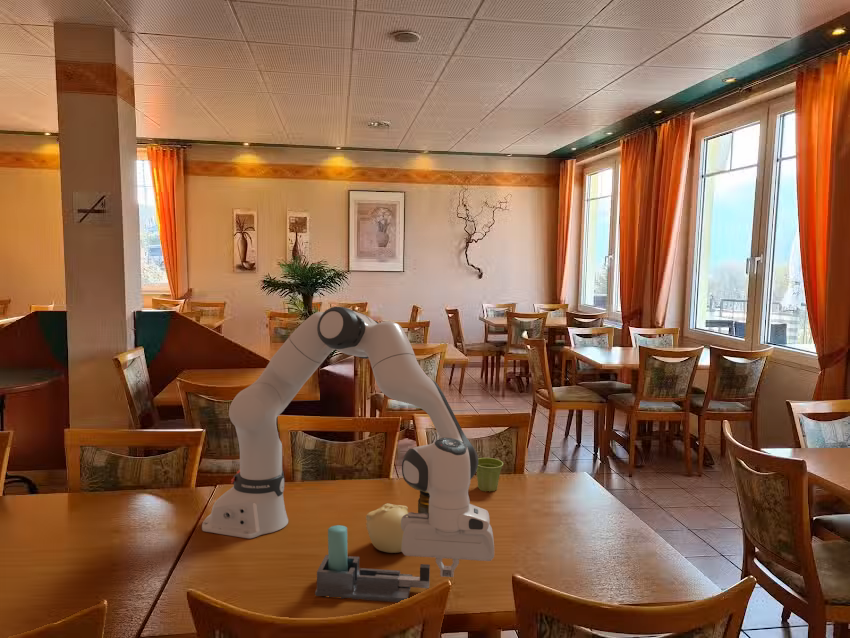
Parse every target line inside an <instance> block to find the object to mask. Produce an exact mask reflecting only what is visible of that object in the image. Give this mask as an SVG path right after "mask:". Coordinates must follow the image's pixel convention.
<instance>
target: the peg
mask: <svg viewBox="0 0 850 638" xmlns="http://www.w3.org/2000/svg"><path fill="white" fill-rule="evenodd" d="M327 547H328V548H327V549H328V552H327V553H328V554H327V555H328V569H329V570H333V571H348V561H347V556H348V527H347V526H345V525H342V524H341V525H339V524H337V525H331V526H330V527H328V529H327Z"/></svg>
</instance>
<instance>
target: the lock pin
mask: <svg viewBox="0 0 850 638" xmlns="http://www.w3.org/2000/svg"><path fill="white" fill-rule="evenodd" d="M430 566H431V565H430V564H426V563H425V564H424V563H421V564H420V566H419V576H413V575H412V576H396V575H381V574H376V575H375V576H383V577H398V586H401V587H411V588H415V589H416V588H417V589H429V588H430V570H431V569H430V568H431V567H430Z"/></svg>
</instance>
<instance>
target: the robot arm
mask: <svg viewBox="0 0 850 638" xmlns="http://www.w3.org/2000/svg"><path fill="white" fill-rule="evenodd" d="M333 351H338V352H339V353H342V354H344V355H347V356H354V357H357V358H360V359H364V360H367V359H368V360H369V362H370V367H371V370H372V373H373V377H374V380H375V382H376V385H377V387H378V389H379V390H380V392H381V393H382V394H383V395H385V396H386V397H387V398H389V399H391V400H394V401H396V402H401V403H404V404H405V403H406V404H409V405H412V406H415V407H417V408H419V409H421V410H422V411H424V412H425V413H426V414H427V415H428V416H429V418H430V420H431V422H432V424H433V426H434V428H435V430H436V432H437V434H438V436H439V438H438V439H436V440H434V441H433V443H429V444H424V445H419V446H415V447H412V448H409V449H407V451H406V452H405V453H404V456H403V458H402V462H401V474H402V477H403V480H404V482H406V484H407V485H408V486H409V487H411V488H412V489H414V490H416V491H419V492H420V491H427V492H428V493H429V495H430V498H429V513H418V512H413V511H411V512H410V511H408V514H406V515H404V516H403V517H402V519H401V528H402V530H403V531H404V534H403V539H402V548H401V551H402V552H401V553H402V554H403V555H404V556H407V557H418V558H419V557H420V558H422V557H423V558H435V563H436V565H437V567H438V569H439V570H440V572H439V573H440V577H447V578H454V575H455V571H456V569H457V567H458V566H459V564H460V560H468V561H480V562H481V561H485V562H491V561H492V560H493V559H494V558H495V542H494V533H493V528H492V525H491V524H490V523H491V522H490V514H489V511H488V509H485V508H482V507H479V506H476V505H475V504H471V503H470V501H471V500H470V496H469V489H470V486H471V480H472V479H473V478H474V476H475V474H476V473H477V471H476V470H477V467H478V459H479V456H478V452H477V451H476V449H475V447H474V446H473V444H472V443H471V441H470V440H469V439H468V437H467V436H466V434H465V433H464V431H463V429H462V427H461V425H460V423H459V421H458V420H457V417H456V415H455V413H454V411H453V410H452V408H451V406H450V404H449V402H448V400H447V398H446V396H445V394H444V392H443V391H442V389H441V388H440V386H439V384H438V383H437V382H436V381H435V380H433V379H431V377H429V376H428V375H427V374H426V373H425V371H424V370H423V369H422V367H421V365H420V364H419V362H418V360H417V357H416V354H415V351H414V349H413V347H412V344H411V342H410V340H409V337H408V336H407V334H406V332H405V330H404V329H403V327H402V326H401V325H400V324H399V323H397V322H395V321H390V320H386V321H381V322H378V321H377V320H375V319H373V318H371V317H370V316H368V315H366V314H364V313H361V312H357V311H355V310H352V309H351V308H348V307H344V306H343V307H342V306H333V307H330V308H327V309H326V310H325V311H324V312H323V311H317V312H313V314H311V315H310V316H309V317H308V318H306V319H305V320H304V321H303V322H302V323H301V324H299V325H298V327H296V329H295V330H294V331H293V332H292V333H291V334H290V335H289V336H288V337H287V338H286V340H285V342H284V343H283V344H282V345H281V346H280V347H279V348H278V349H277V350H276V352H275V353H274V355H272V357H271V358H270V360H269V362H268V364H267V365H266V367H265V368H264V370H263V371H262V373H261V374H260V375H259V377H258V378H257V379H256V380H255V381H254V382H253V383H251V384H250V385H249V386H247V387H246V388H244V389H242V390H240V391H239V392H238V393H237V394H236V395H235V397H234V398H233V400H232V401H231V403H230V405H229V408H228V416H229V420H230V422H231V424H232V425H234V427H235V431H236V436H237V440H238V445H239V448H238V449H239V469H238V470H237V471H236V474H234V475H233V477H232V479H231V480H230V481H231V482H230V484H231V485H233V486H232V487H231V488H229V489H228V490H227V491H225V492H224V493H222V495H221V496H219V497H218V498H217V499H216V500H215V502H214V504H213V505H212V509H211V513H210V514H209V515H208V516H206V518H205V519H204V520H203V521H202V523H201V531H202V532H206V533H211V534H213V533H214V534H219V535H225V536H231V537H238V538H243V539H254V538H256V537H259V536H262V535H266V534H270V533H274V532H277V531H280V530H281V529H283V528H285V527H286V526H287V525H288V524H289V517H288V515H287V511H286V506H285V501H284V500H285V499H284V491H285V475H284V472H285V471H283V445H282V441H281V440H280V438H279V432H278V428H277V427H278V426H277V419H278V418H277V417H278V416H279V415H281V414H282V413H283V412H284V411H285V409H286V408H287V407H288V406H289V404H291V402H292V401H293V399H294V398H295V397H296V396H297V394H298V393H299V391H300V390H301V389H302V388H303V386H304V385H305V384H306V383H307V381H308V380H310V378H311V377H312V376H313V374H314V373H315V372H316V371H317V369H318V368H319V367H320V366H321V365H322V364H323V363H324V361H325V360H326V359H327V357H328V356H329V355H330V354H331V353H332V352H333ZM406 516H408V517H406ZM428 518H429V519H428ZM443 559H449V560H450V559H452V564H451V565H444V563H443Z"/></svg>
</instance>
